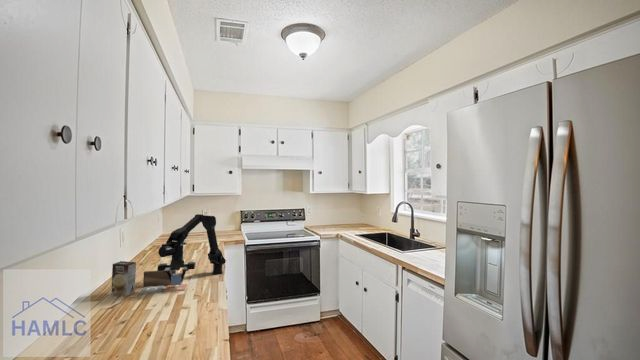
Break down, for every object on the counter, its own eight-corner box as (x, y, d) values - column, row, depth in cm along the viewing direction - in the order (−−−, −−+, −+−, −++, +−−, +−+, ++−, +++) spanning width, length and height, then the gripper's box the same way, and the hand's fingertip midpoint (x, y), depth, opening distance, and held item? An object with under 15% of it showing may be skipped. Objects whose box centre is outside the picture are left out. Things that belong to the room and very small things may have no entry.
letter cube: (172, 282, 171) (172, 273, 171) (182, 282, 173) (182, 272, 173) (170, 285, 166) (171, 275, 166) (180, 284, 168) (181, 275, 168)
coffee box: (110, 295, 156) (111, 263, 157) (119, 291, 163) (120, 261, 163) (126, 296, 155) (128, 264, 156) (135, 292, 162) (136, 261, 162)
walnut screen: (144, 285, 173) (144, 271, 173) (175, 283, 177) (175, 269, 178) (143, 286, 171) (143, 272, 171) (174, 284, 175) (175, 270, 176)
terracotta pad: (168, 286, 173) (168, 285, 173) (187, 284, 175) (187, 283, 176) (164, 291, 163) (164, 290, 163) (184, 290, 166) (184, 289, 166)
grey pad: (144, 287, 169) (144, 286, 169) (164, 286, 172) (164, 285, 172) (139, 293, 160) (139, 292, 160) (160, 292, 162) (160, 291, 162)
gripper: (155, 257, 159) (154, 287, 159) (193, 256, 165) (193, 285, 164) (160, 253, 170) (159, 281, 170) (195, 251, 176) (195, 279, 175)
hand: (176, 281), depth 169 cm, fingers closed on letter cube, 5 cm apart
